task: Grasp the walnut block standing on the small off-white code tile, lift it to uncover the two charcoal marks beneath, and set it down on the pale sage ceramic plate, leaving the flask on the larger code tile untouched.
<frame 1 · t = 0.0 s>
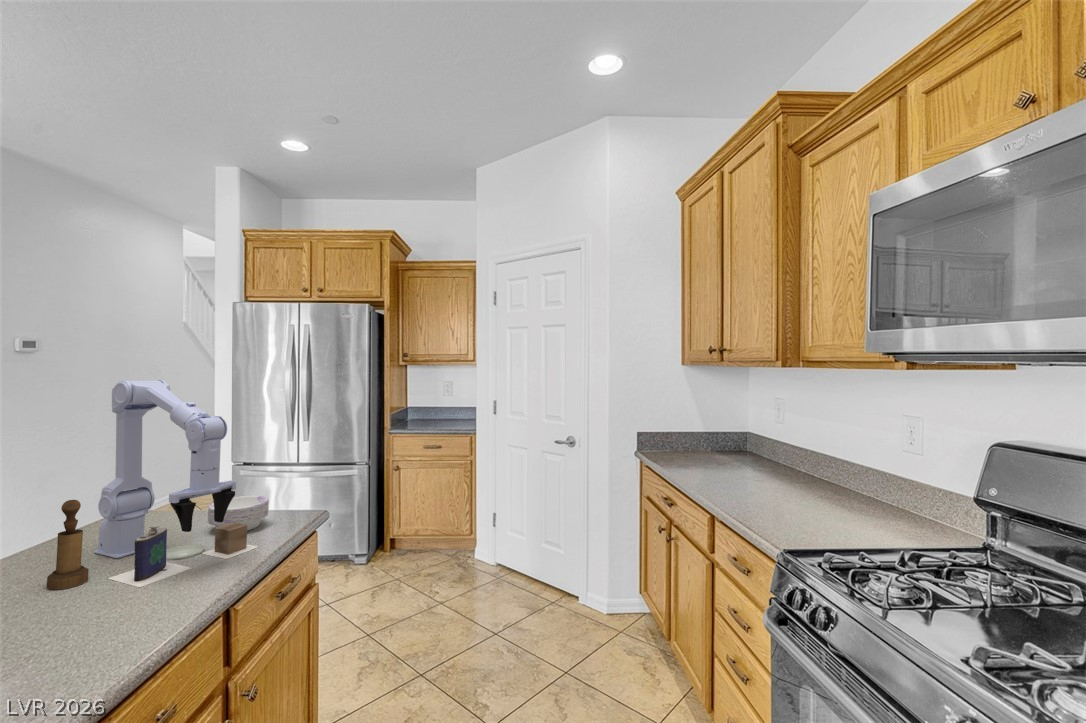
hand: (203, 526, 115), 10 cm above the countertop, tool pointing down, fingers open, 7 cm apart
code tile b: (230, 550, 126), on the countertop
walnut block: (230, 549, 126), resting on code tile b
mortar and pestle: (67, 584, 106), on the countertop
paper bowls: (238, 529, 143), on the countertop
plate: (183, 552, 124), on the countertop
flask: (151, 573, 111), on the countertop, touching code tile a
code tile a: (151, 573, 111), on the countertop
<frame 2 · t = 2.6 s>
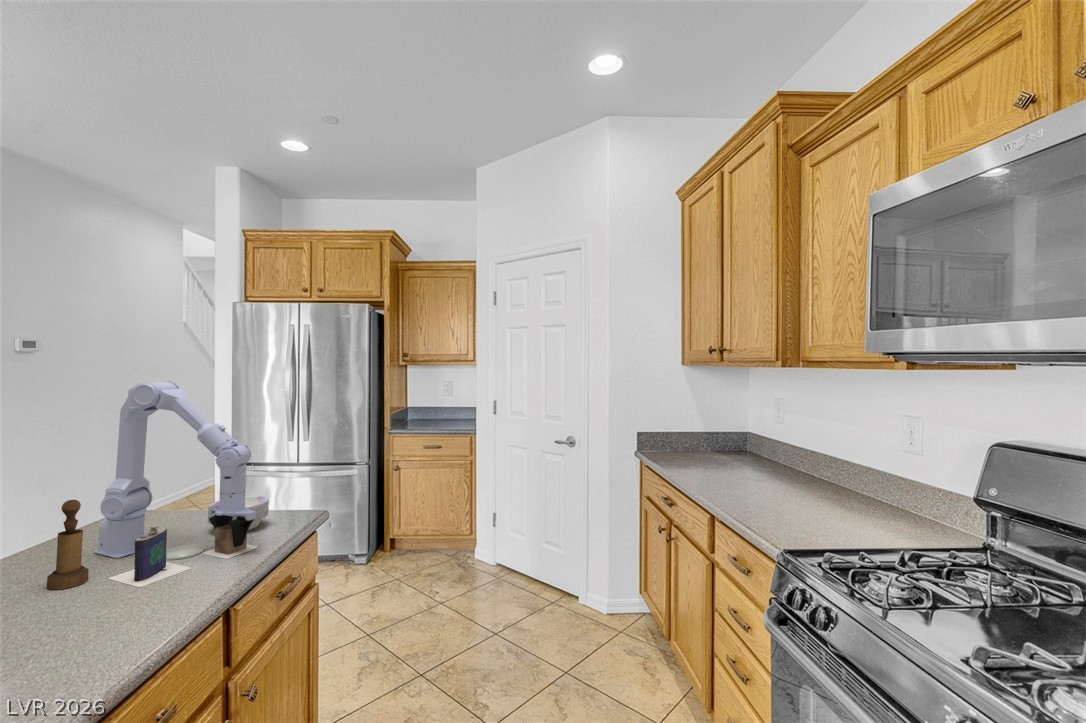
hand: (230, 544, 126), 2 cm above the countertop, tool pointing down, fingers closed on walnut block, 5 cm apart
walnut block: (230, 549, 126), resting on code tile b, touching gripper
everything else where it was.
when the fingers open (3 cm above the countertop, at t = 7.1 s): walnut block stays where it is, resting on plate.
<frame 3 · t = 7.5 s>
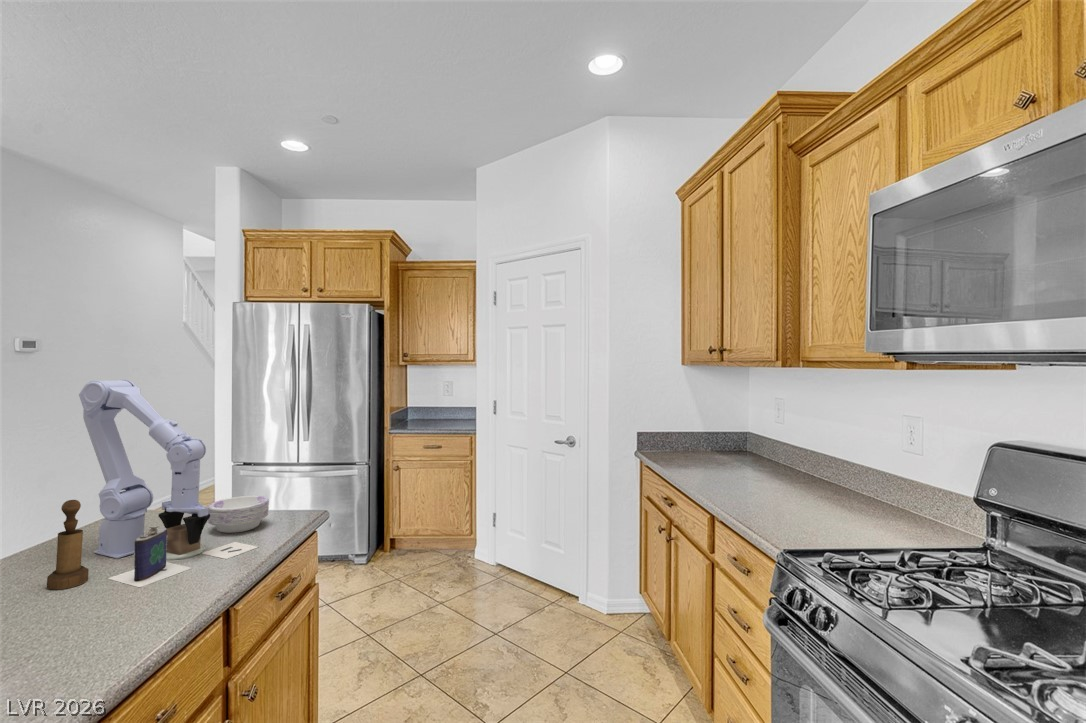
hand: (183, 541, 124), 3 cm above the countertop, tool pointing down, fingers open, 7 cm apart
walnut block: (183, 550, 124), point 1 cm above the countertop, touching plate
everything else where it was.
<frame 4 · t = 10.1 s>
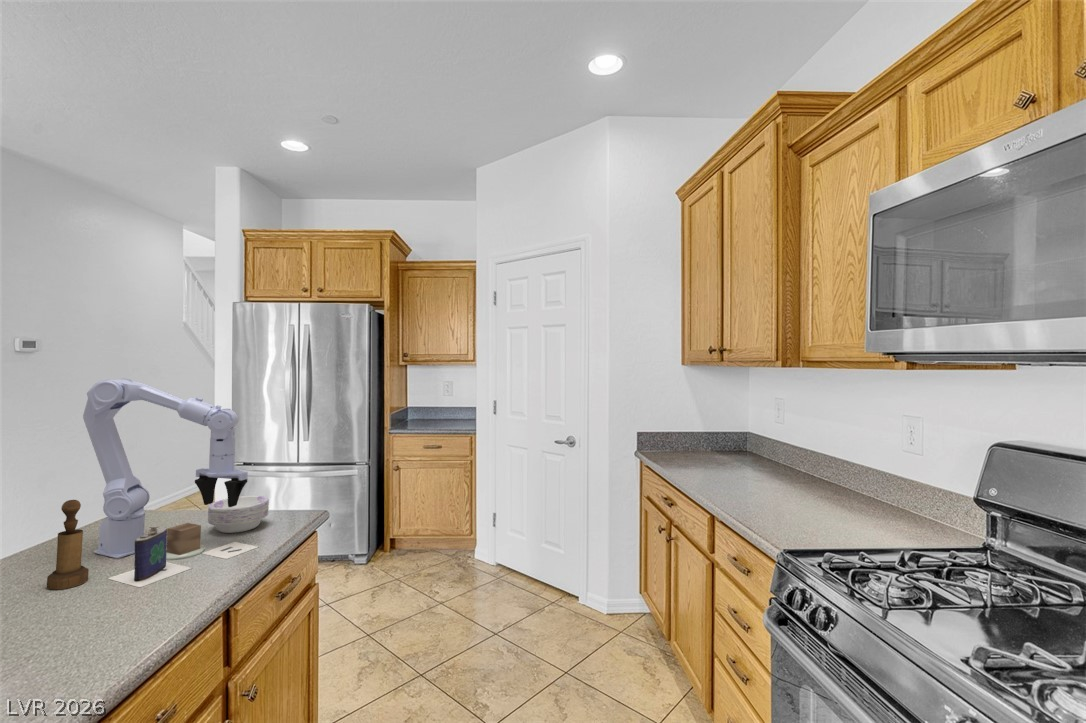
hand: (220, 505, 131), 10 cm above the countertop, tool pointing down, fingers open, 7 cm apart
nothing on the countertop moved.
at the end: walnut block 0.1 cm from the plate (horizontally); walnut block tilted 0°; the gripper is holding nothing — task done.
